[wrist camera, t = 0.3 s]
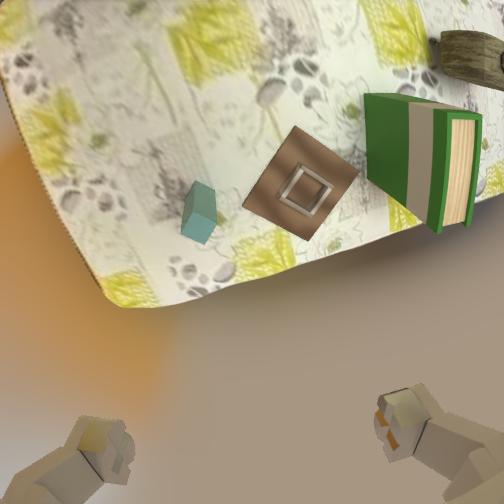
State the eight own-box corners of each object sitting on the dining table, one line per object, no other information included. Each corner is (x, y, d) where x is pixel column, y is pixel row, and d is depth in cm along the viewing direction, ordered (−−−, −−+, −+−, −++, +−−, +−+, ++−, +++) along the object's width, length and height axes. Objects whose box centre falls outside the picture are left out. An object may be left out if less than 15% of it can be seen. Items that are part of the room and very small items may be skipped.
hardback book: (396, 174, 60) (469, 225, 39) (366, 178, 59) (436, 233, 39) (395, 93, 50) (482, 114, 30) (363, 93, 50) (447, 112, 30)
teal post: (195, 180, 55) (192, 211, 43) (214, 190, 57) (217, 223, 45) (185, 198, 57) (180, 233, 45) (204, 207, 58) (204, 244, 46)
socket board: (294, 125, 52) (300, 128, 49) (357, 170, 58) (365, 175, 55) (242, 204, 59) (244, 212, 56) (306, 239, 65) (311, 247, 62)
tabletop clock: (468, 48, 44) (553, 61, 23) (468, 83, 49) (552, 107, 28) (423, 31, 43) (515, 32, 22) (423, 70, 48) (516, 86, 26)
